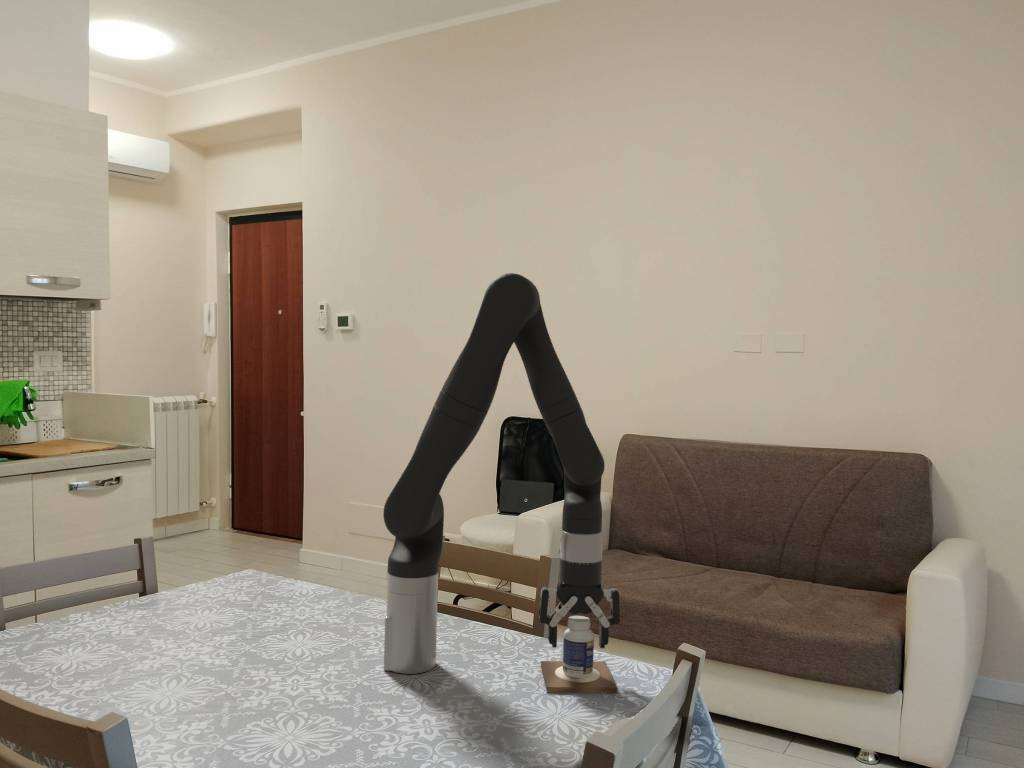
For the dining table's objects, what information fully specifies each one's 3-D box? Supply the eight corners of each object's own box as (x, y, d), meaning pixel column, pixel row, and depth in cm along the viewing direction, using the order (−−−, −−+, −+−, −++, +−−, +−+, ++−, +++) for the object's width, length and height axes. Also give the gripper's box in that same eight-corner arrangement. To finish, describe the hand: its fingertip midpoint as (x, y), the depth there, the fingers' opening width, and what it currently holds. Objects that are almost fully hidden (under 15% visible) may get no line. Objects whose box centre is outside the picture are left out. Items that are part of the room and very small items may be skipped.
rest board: (546, 692, 136) (547, 686, 136) (540, 666, 148) (540, 660, 148) (616, 693, 137) (617, 686, 137) (605, 666, 149) (605, 661, 149)
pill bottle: (591, 680, 139) (592, 625, 139) (560, 677, 140) (562, 622, 140) (594, 669, 144) (595, 615, 144) (564, 666, 145) (566, 613, 145)
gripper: (542, 560, 138) (540, 653, 138) (624, 561, 138) (621, 654, 139) (539, 550, 145) (536, 638, 146) (616, 551, 146) (614, 639, 146)
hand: (578, 646), depth 142 cm, fingers open, 8 cm apart
